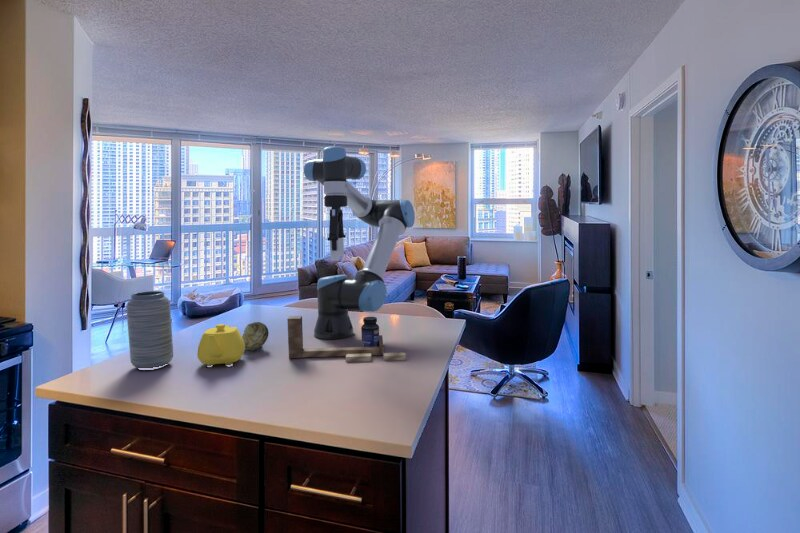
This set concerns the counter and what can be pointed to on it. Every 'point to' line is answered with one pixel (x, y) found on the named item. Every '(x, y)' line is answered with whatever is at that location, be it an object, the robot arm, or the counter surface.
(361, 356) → the broken strip
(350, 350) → the wooden stand
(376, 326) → the pill bottle
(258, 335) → the seashell
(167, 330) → the vase
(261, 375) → the counter surface
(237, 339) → the yellow faceted lidded jar
